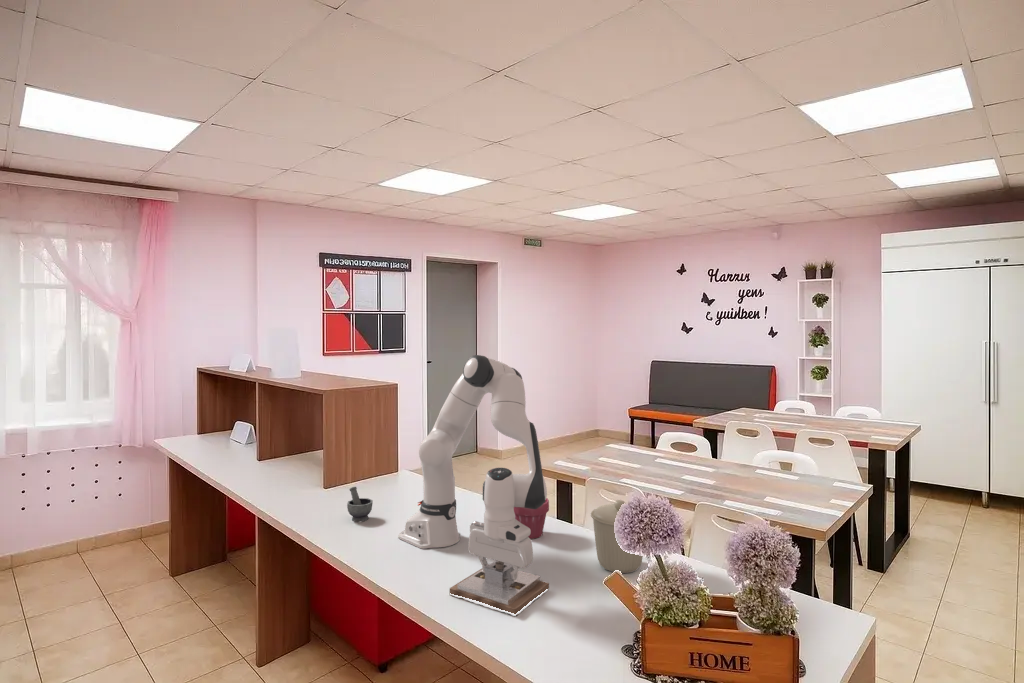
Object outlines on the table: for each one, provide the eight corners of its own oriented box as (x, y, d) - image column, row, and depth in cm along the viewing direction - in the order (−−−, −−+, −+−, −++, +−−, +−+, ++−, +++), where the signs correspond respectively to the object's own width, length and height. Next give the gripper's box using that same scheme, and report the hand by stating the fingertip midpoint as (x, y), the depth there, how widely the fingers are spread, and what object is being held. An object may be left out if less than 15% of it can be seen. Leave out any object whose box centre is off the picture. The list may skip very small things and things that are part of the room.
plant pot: (510, 527, 214) (510, 493, 214) (547, 527, 214) (547, 493, 214) (510, 541, 200) (510, 505, 200) (550, 542, 200) (550, 505, 200)
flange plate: (457, 589, 160) (457, 570, 160) (492, 567, 174) (492, 550, 174) (508, 605, 151) (508, 585, 150) (540, 581, 165) (540, 562, 165)
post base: (449, 595, 161) (449, 565, 161) (486, 571, 176) (486, 544, 176) (515, 616, 149) (515, 584, 149) (548, 589, 164) (548, 560, 164)
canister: (659, 565, 181) (659, 499, 180) (630, 585, 167) (630, 513, 166) (610, 550, 193) (610, 488, 192) (579, 567, 179) (579, 501, 178)
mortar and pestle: (377, 519, 224) (377, 488, 223) (356, 525, 217) (356, 494, 216) (361, 512, 231) (361, 483, 231) (340, 518, 224) (340, 488, 224)
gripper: (463, 523, 165) (463, 570, 165) (523, 537, 154) (523, 588, 154) (476, 516, 170) (476, 562, 171) (535, 530, 159) (535, 579, 159)
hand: (499, 574), depth 162 cm, fingers open, 8 cm apart
